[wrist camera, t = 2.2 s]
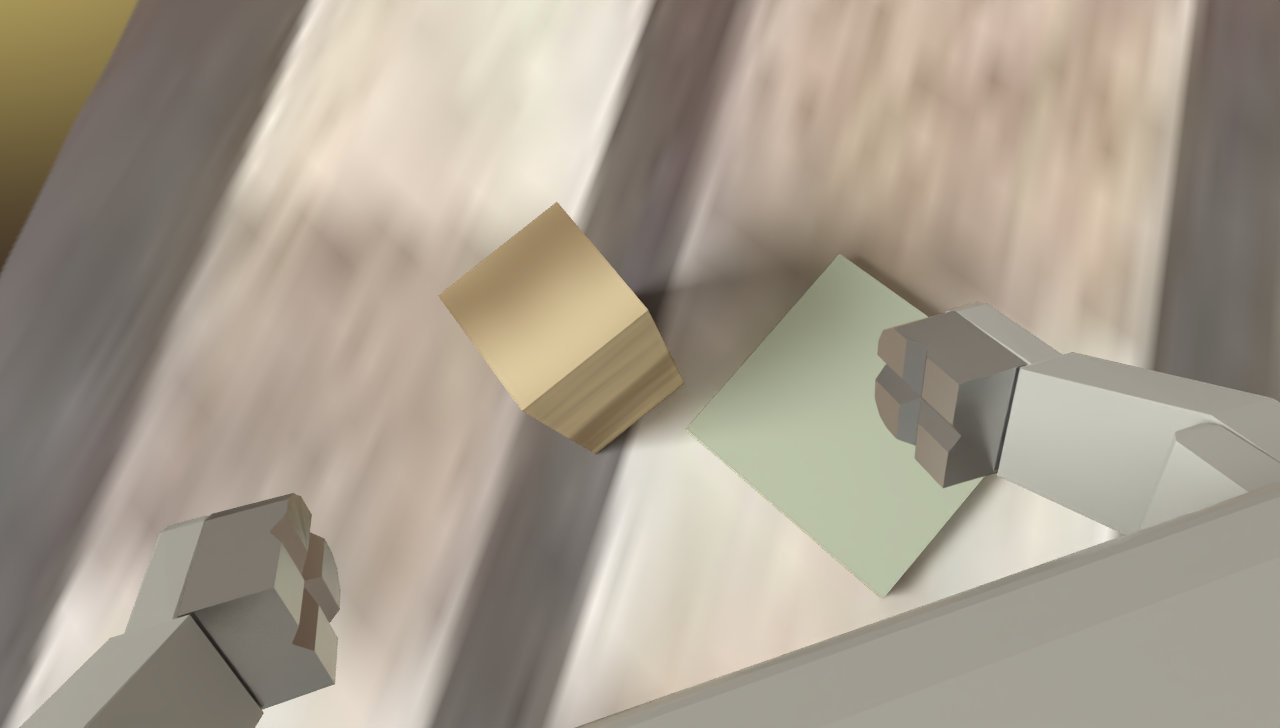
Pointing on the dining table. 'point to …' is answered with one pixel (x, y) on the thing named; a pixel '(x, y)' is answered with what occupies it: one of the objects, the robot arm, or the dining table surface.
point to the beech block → (564, 332)
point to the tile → (831, 430)
